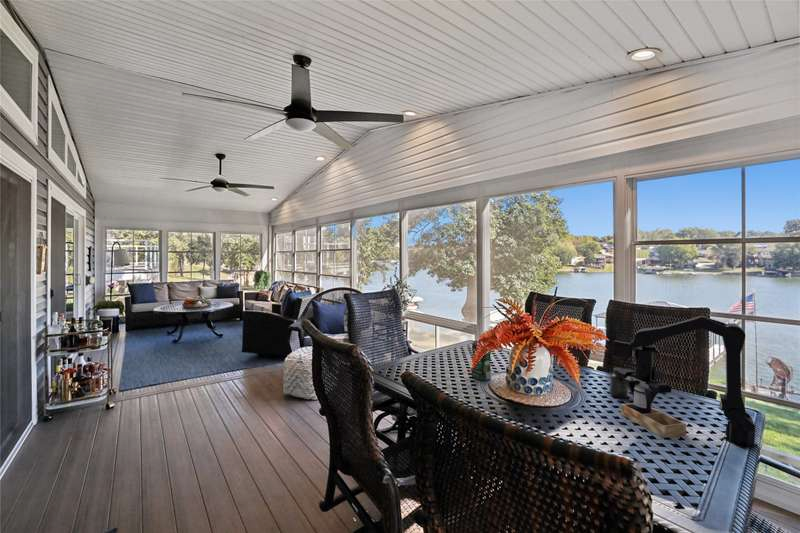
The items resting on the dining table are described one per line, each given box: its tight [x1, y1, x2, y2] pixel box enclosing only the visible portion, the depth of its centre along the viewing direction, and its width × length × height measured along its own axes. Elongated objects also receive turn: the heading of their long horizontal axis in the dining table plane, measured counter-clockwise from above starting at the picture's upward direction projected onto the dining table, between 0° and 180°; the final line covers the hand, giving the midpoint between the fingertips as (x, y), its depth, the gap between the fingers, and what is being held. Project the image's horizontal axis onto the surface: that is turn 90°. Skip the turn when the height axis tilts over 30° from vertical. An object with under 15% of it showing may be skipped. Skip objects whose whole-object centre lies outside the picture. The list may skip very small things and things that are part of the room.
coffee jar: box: [470, 339, 492, 381], centre depth 183 cm, size 10×8×19 cm
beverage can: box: [632, 384, 652, 414], centre depth 140 cm, size 6×6×12 cm
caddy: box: [620, 402, 687, 439], centre depth 136 cm, size 18×10×4 cm, turn 12°
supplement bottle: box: [609, 367, 629, 400], centre depth 162 cm, size 7×7×12 cm
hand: (642, 402), depth 140 cm, fingers closed on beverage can, 6 cm apart
